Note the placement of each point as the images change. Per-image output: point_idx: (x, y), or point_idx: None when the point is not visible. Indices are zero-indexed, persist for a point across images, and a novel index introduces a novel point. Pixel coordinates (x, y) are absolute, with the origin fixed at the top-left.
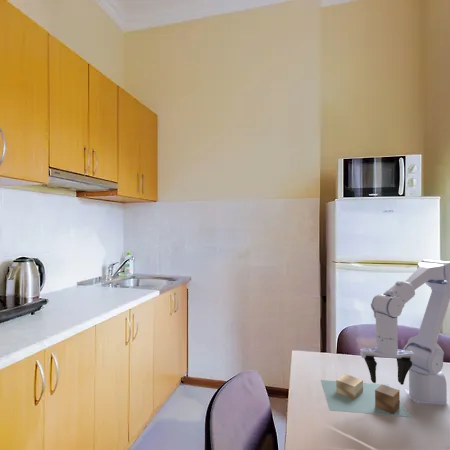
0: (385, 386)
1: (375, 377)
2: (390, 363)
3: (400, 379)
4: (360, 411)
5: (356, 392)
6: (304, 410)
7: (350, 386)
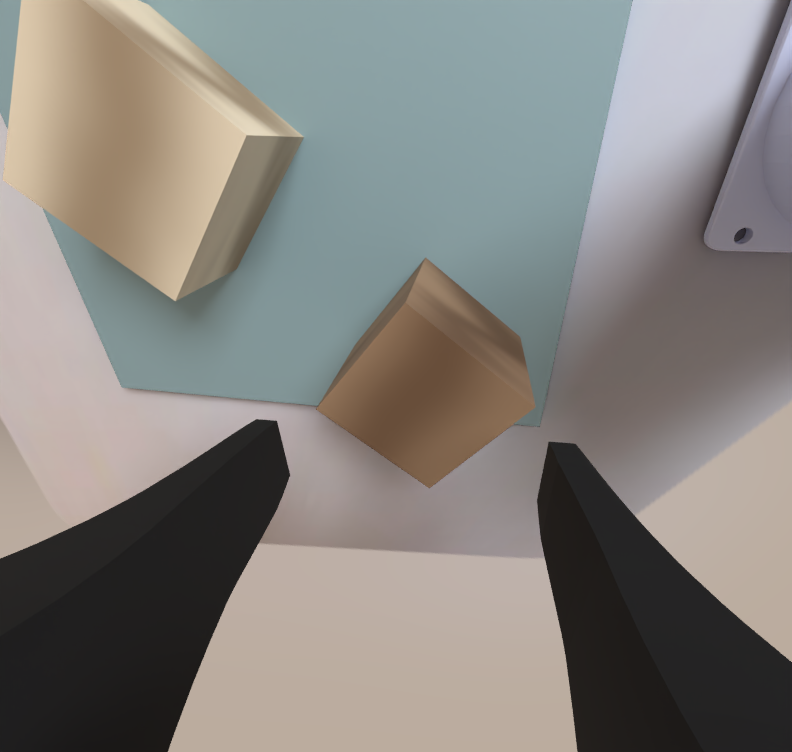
0: (428, 347)
1: (258, 535)
2: None
3: (548, 528)
4: (264, 391)
5: (224, 256)
6: (24, 373)
7: (148, 273)
